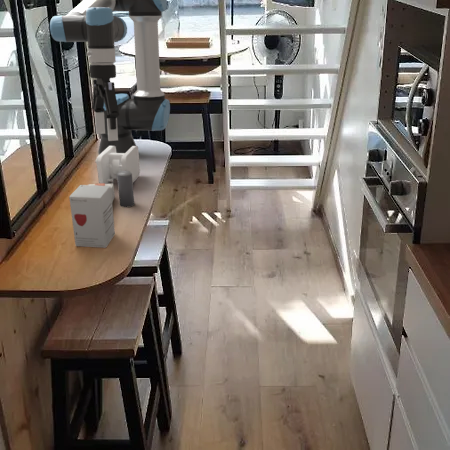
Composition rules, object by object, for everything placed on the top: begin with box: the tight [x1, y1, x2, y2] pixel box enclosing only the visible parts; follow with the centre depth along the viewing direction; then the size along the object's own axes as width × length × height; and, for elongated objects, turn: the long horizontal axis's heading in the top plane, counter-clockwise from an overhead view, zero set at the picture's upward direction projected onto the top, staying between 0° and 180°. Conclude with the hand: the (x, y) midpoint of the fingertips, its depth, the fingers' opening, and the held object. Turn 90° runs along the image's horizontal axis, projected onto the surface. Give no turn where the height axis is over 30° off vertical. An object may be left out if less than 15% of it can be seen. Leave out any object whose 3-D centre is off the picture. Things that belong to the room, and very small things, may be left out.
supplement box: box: [68, 184, 116, 249], centre depth 167 cm, size 9×9×15 cm
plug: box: [116, 171, 135, 208], centre depth 191 cm, size 5×5×10 cm
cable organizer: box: [95, 145, 141, 184], centre depth 208 cm, size 15×11×12 cm
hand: (106, 137), depth 182 cm, fingers open, 13 cm apart
